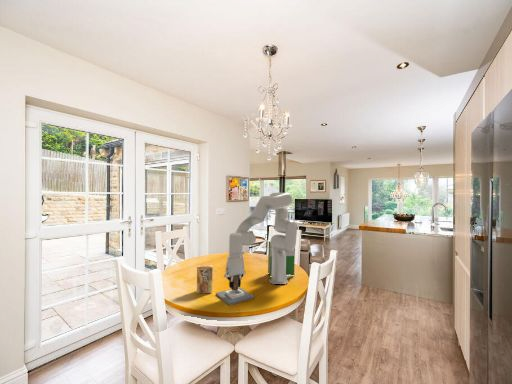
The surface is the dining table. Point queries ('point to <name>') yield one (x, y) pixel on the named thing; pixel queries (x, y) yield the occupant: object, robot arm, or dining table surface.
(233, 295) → the board
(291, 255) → the hardback book
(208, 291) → the candy box
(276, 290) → the dining table surface
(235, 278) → the walnut pin
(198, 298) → the dining table surface
